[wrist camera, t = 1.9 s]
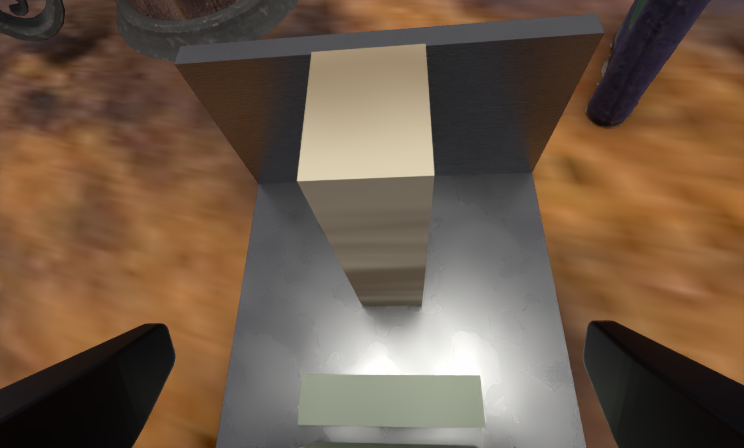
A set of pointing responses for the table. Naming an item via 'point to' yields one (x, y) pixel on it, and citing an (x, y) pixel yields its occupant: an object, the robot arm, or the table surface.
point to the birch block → (371, 166)
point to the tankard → (162, 22)
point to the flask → (639, 56)
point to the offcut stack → (391, 404)
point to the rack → (445, 244)
